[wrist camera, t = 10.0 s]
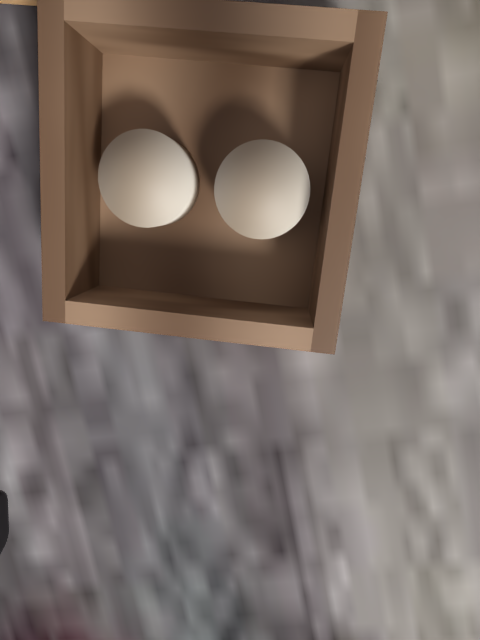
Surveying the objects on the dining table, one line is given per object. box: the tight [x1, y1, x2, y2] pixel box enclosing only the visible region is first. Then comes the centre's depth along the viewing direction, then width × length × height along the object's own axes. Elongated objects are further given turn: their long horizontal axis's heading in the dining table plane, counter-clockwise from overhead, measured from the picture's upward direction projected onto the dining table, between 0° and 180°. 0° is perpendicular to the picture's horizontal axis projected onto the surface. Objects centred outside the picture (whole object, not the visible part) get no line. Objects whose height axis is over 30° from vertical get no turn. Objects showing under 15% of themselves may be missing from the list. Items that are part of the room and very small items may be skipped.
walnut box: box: [37, 0, 388, 354], centre depth 16 cm, size 10×10×4 cm
